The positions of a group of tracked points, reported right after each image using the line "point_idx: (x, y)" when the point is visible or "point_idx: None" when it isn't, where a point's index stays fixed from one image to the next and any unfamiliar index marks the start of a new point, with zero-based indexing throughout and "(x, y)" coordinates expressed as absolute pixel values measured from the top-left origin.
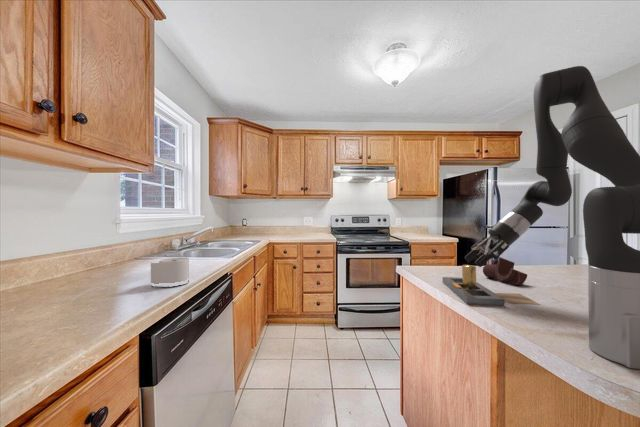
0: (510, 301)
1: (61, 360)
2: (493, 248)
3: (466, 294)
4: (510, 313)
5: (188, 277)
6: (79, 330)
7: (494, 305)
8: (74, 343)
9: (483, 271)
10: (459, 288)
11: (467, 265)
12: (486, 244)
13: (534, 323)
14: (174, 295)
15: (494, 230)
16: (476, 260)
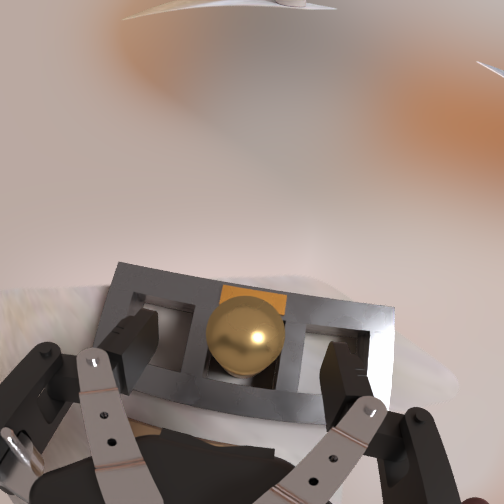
0: (135, 431)
1: (142, 15)
2: (27, 385)
3: (145, 277)
4: None
5: (297, 1)
6: (181, 4)
7: None
8: (162, 9)
9: (474, 498)
10: (217, 293)
11: (267, 335)
12: (206, 482)
13: None
14: (252, 5)
15: None
16: (145, 315)
